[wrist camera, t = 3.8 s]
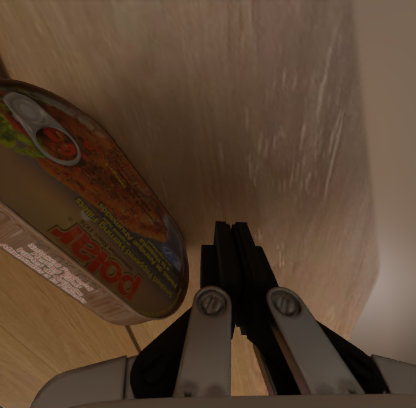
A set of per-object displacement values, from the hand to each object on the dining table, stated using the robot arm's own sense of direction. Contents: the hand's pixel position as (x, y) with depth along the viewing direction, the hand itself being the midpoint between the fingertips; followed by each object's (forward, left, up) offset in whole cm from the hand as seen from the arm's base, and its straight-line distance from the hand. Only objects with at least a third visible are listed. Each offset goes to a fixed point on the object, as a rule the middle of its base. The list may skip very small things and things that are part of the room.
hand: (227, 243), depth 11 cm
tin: (+7, 0, -6) cm, 9 cm away
